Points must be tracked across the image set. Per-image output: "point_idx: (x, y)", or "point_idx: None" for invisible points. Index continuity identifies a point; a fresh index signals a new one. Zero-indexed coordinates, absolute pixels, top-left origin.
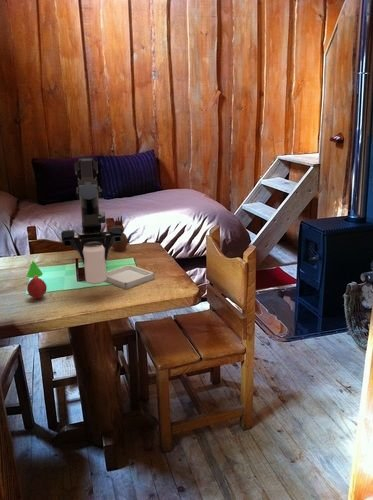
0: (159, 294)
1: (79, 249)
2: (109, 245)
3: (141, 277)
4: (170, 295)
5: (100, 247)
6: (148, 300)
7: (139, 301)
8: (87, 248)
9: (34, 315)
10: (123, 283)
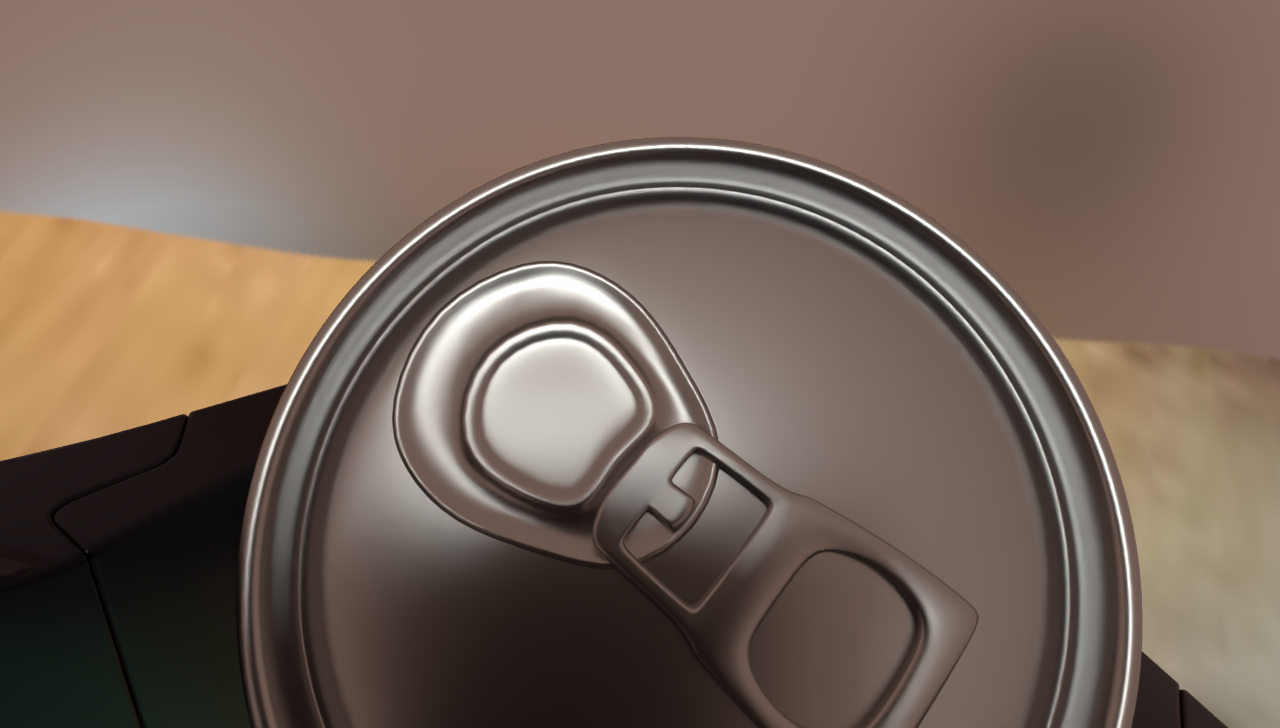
0: (116, 329)
1: (1181, 706)
2: (54, 471)
3: None
4: (54, 262)
5: (502, 226)
6: (269, 263)
7: (343, 282)
8: (979, 322)
9: (1199, 457)
10: None
